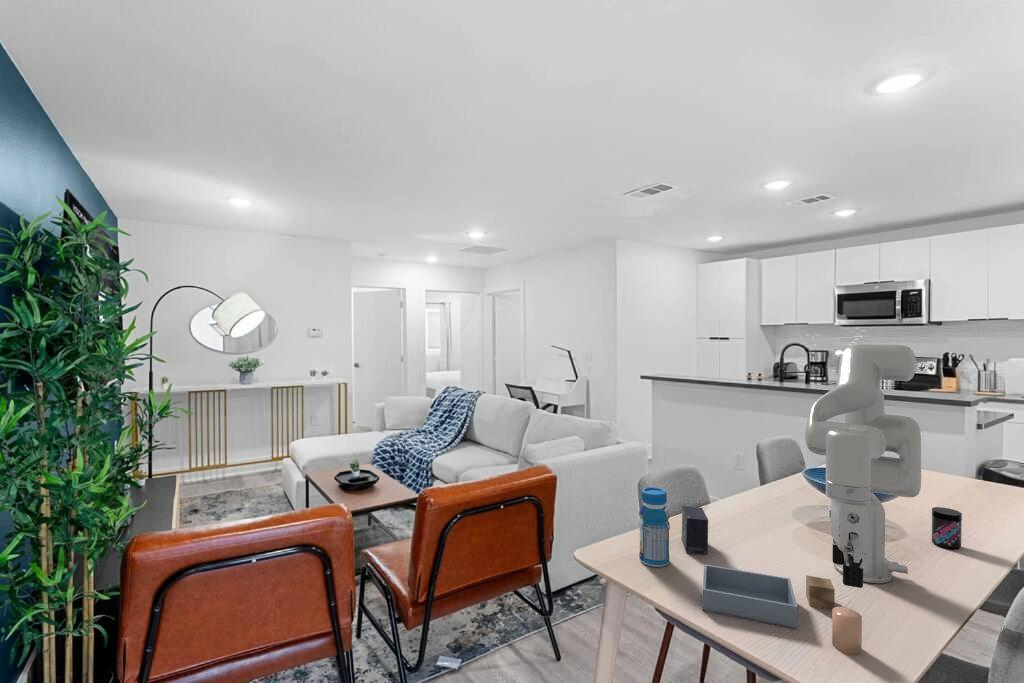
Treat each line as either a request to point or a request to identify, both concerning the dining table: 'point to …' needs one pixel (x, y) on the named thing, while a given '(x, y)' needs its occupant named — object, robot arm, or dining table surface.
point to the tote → (750, 596)
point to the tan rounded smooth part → (847, 630)
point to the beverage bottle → (654, 528)
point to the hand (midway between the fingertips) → (846, 574)
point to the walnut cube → (820, 592)
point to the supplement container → (946, 528)
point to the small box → (694, 530)
